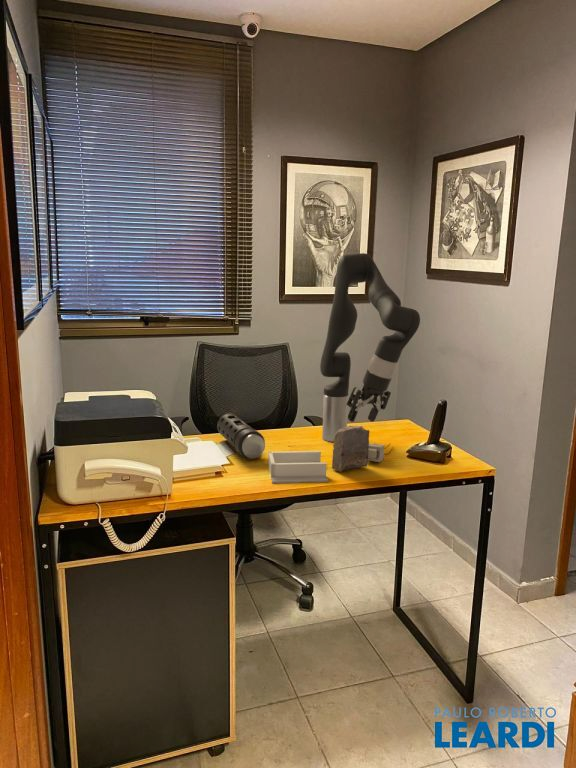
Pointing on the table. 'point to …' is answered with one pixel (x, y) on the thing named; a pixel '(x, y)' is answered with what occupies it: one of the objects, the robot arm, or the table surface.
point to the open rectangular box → (296, 467)
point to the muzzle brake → (241, 436)
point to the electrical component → (376, 452)
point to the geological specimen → (350, 448)
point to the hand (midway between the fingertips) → (360, 420)
